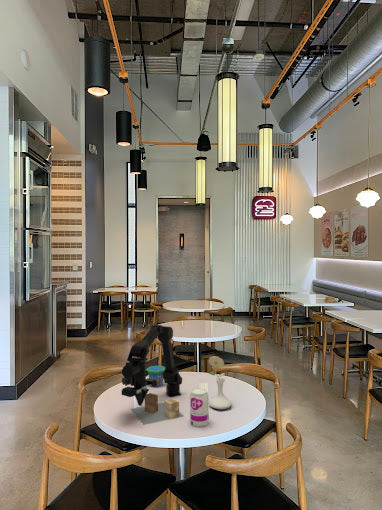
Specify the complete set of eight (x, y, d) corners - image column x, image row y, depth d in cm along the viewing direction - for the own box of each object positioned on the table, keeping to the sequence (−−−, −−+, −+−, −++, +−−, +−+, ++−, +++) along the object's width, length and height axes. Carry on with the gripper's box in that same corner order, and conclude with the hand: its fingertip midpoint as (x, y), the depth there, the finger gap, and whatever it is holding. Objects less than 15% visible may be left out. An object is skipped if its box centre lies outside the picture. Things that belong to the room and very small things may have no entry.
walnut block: (150, 409, 188) (150, 392, 188) (158, 411, 185) (157, 394, 185) (144, 411, 184) (144, 395, 184) (152, 414, 182) (152, 397, 182)
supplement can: (203, 430, 165) (202, 395, 166) (186, 426, 170) (186, 392, 170) (212, 423, 172) (211, 390, 172) (196, 419, 177) (196, 386, 177)
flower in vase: (236, 406, 191) (235, 356, 191) (222, 413, 183) (222, 361, 183) (216, 400, 200) (215, 352, 200) (201, 406, 192) (201, 356, 192)
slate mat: (168, 402, 197) (168, 401, 197) (184, 417, 179) (184, 416, 179) (130, 410, 188) (130, 408, 188) (143, 426, 170) (143, 424, 170)
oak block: (173, 412, 183) (173, 398, 183) (179, 416, 179) (179, 401, 179) (164, 415, 180) (164, 400, 180) (170, 419, 176) (170, 403, 176)
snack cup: (140, 386, 222) (140, 369, 222) (148, 381, 232) (148, 364, 232) (164, 389, 216) (164, 371, 216) (172, 384, 226) (172, 366, 226)
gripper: (140, 364, 190) (140, 395, 190) (112, 374, 175) (113, 408, 175) (157, 368, 184) (158, 400, 184) (130, 378, 169) (130, 414, 169)
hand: (140, 405), depth 178 cm, fingers closed
